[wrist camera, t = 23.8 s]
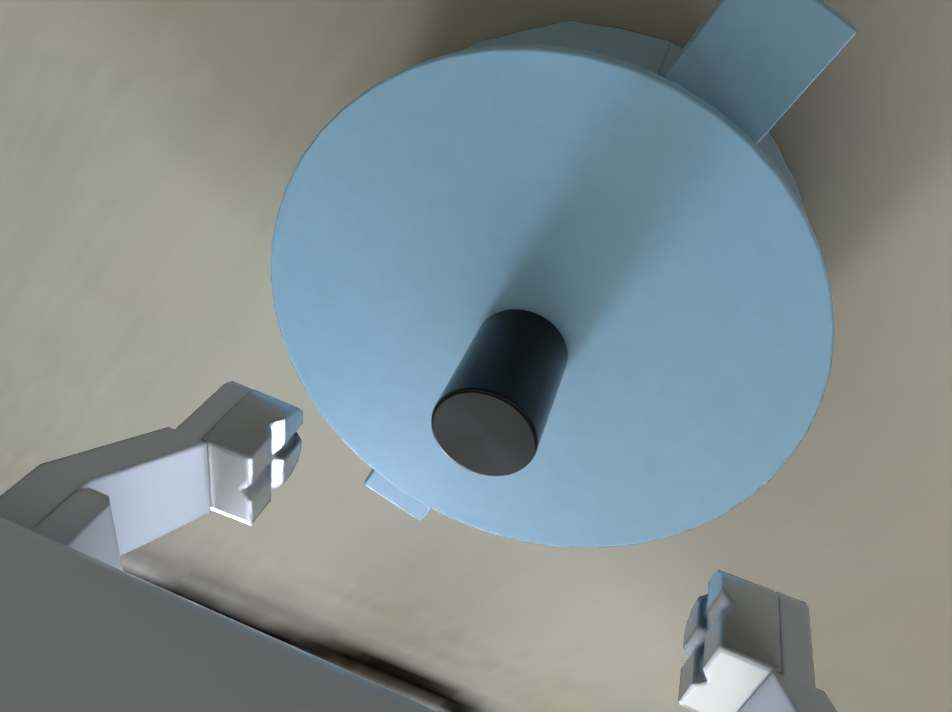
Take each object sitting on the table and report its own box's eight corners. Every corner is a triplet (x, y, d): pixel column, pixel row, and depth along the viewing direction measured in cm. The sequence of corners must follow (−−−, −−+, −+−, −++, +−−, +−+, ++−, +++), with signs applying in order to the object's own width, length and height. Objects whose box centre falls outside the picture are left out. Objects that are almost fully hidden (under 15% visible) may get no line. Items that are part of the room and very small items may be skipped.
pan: (1008, 134, 17) (1097, 215, 13) (571, 514, 28) (544, 622, 24) (561, -206, 16) (501, -238, 12) (294, 328, 27) (215, 408, 23)
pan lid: (984, 295, 15) (1066, 429, 11) (593, 586, 23) (567, 715, 20) (427, -112, 14) (316, -111, 10) (232, 348, 22) (134, 439, 19)
